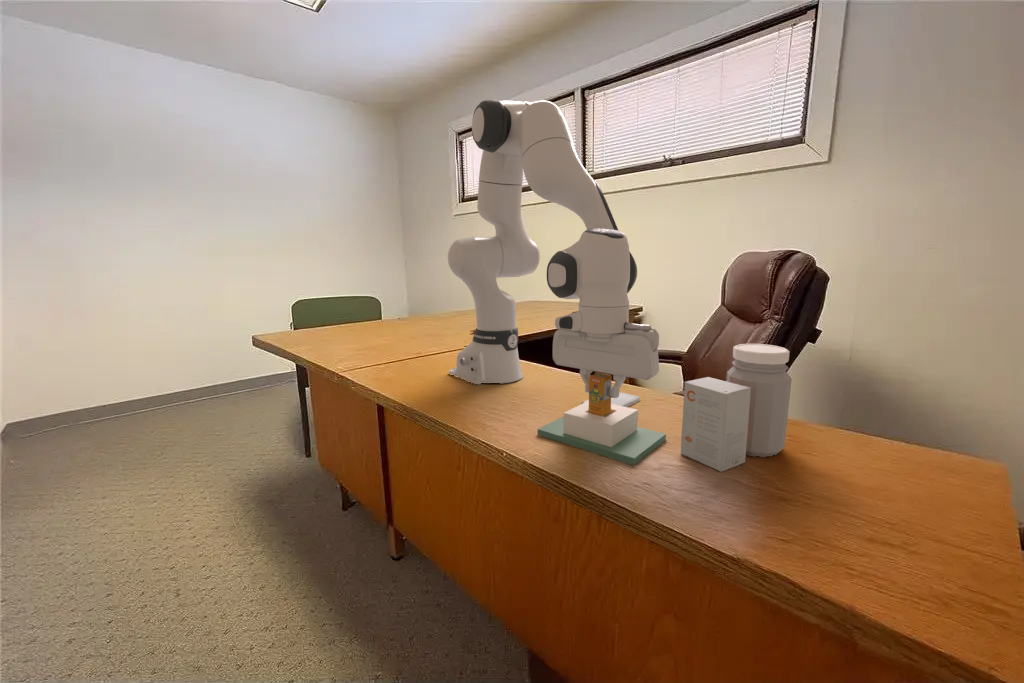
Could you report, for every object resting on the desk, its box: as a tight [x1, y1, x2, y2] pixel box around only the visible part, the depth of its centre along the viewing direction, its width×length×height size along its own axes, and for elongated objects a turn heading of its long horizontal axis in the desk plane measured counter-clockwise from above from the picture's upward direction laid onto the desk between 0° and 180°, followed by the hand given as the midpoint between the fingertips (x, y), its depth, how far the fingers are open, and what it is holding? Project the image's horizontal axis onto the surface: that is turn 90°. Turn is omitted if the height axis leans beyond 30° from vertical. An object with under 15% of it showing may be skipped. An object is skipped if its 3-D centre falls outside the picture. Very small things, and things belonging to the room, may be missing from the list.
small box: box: [680, 376, 751, 473], centre depth 74 cm, size 8×6×13 cm
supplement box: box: [588, 372, 613, 417], centre depth 83 cm, size 3×3×10 cm
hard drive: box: [580, 391, 641, 408], centre depth 104 cm, size 2×8×12 cm
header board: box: [537, 401, 667, 466], centre depth 84 cm, size 20×13×5 cm, turn 49°
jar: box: [725, 343, 793, 458], centre depth 78 cm, size 10×10×18 cm
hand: (601, 394), depth 83 cm, fingers open, 3 cm apart
